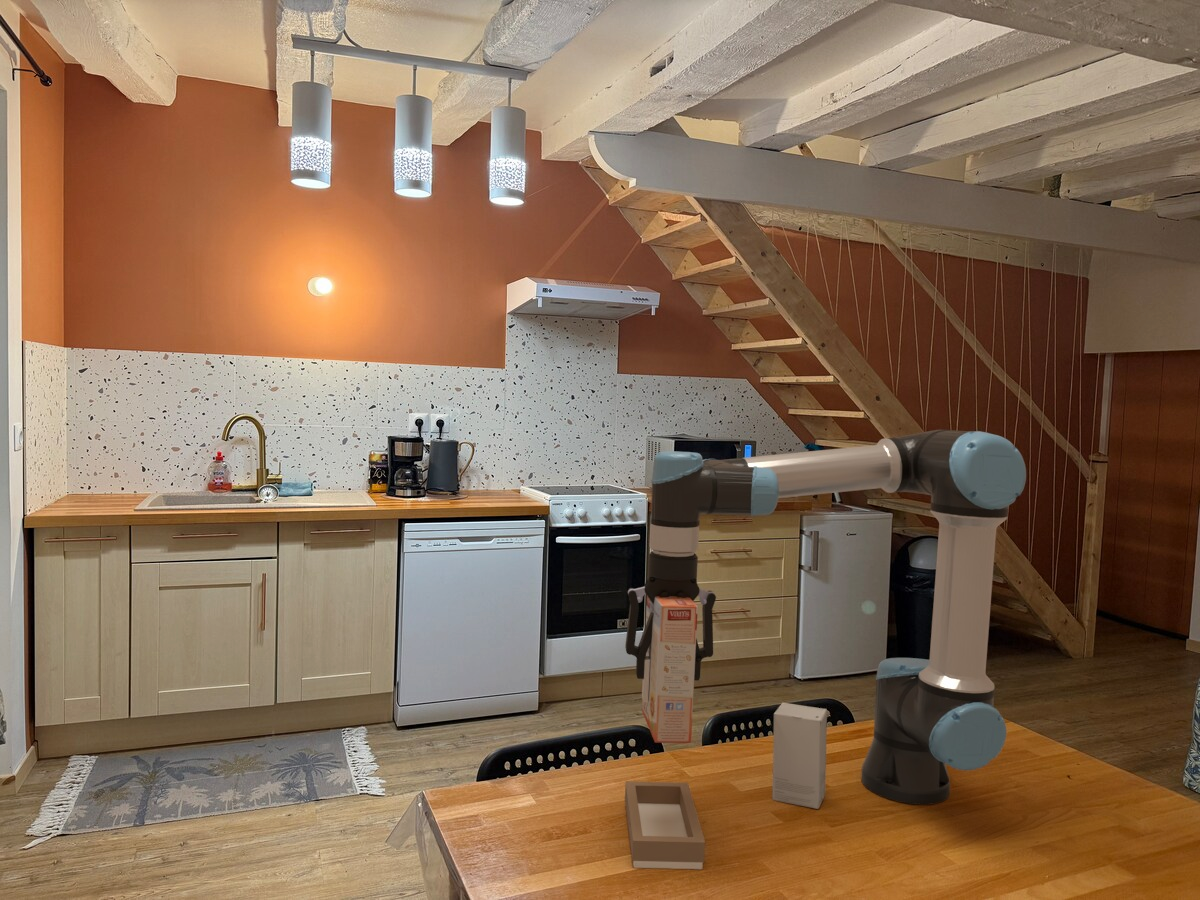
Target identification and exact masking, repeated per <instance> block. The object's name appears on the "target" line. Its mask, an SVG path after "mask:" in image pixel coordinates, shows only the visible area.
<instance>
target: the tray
mask: <svg viewBox="0 0 1200 900" xmlns="http://www.w3.org/2000/svg"><path fill="white" fill-rule="evenodd" d="M624 788H625V789H624V791H625V792H624V802H625V803H624V804H625V811H626V819H627V827H628V828H627V829H628V834H629V835H628V837H629V842H630V843H629V844H630V852H631V860H632V863H633V868H634V869H635V868H636V869H638V868H639V869H675V870H677V869H678V870H679V869H682V870H691V869H692V870H703V863H705V856H706V841H705V837H704V833H703V830H702V826H701V824H700V820H699V817H698V813H697V809H696V805H695V802H694V799H693V796H692V793H691V788H690V785H689V783H688V782H670V781H669V782H667V781H666V782H665V781H635V780H634V781H630V780H629V781H627V780H626V781H625V787H624Z"/></svg>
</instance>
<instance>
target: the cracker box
mask: <svg viewBox="0 0 1200 900" xmlns="http://www.w3.org/2000/svg"><path fill="white" fill-rule="evenodd" d="M645 611H646V612H645V625H646V624H647V621H648V618H649V616H650V613H651V612H653V613H654V616H653V626H652V640H651V643H650V645H649V648H648V651H647V653H646V655H649V659H650V670H649V692H648V702H643V699H642V698H641V712H642V715H643V717H644V719H645V722H646V725H647V726H648V727H647V728H648V729H649V731H650V734H651V737H652V738H653V739H652V740H653V741H654V743H657V744H658V743H660V744H663V743H664V744H665V743H669V744H691V743H692V734H693V731H692V730H693V729H692V728H693V714H694V713H693V712H694V711H693V709H694V708H693V707H694V690H695V689H694V688H695V680H694V672H695V650H696V638H697V633H698V632H697V631H698V630H697V628H698V613H699V612H698V611H699V607H698V605H697V604H696V603H695V601H692V600H691V599H690V598H688V597H686V598H678V597H677V596H668V597H661V598H660V597H659V596H657V597H655V600H654V604H653V603H652V602H651V600H650V599H649V597H648V596H647V595H646V610H645Z"/></svg>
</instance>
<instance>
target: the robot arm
mask: <svg viewBox="0 0 1200 900" xmlns="http://www.w3.org/2000/svg"><path fill="white" fill-rule="evenodd" d="M650 481H651V507H650V508H651V510H650V527H649V530H650V531H649V548H650V550H652V551H650V552H649V554H648V564H647V565H648V568H647V569H648V571H647V579H646V582H645V584H644V585H643V586H641V587H637V588H633V587H630V588H628V590H627V595H628V598H629V609H628V610H629V611H628V612H629V613H628V622H627V628H626V629H627V630H626V636H625V637H626V638H625V652H626V654H627V655H632V656H633V657H635V658H636V660H635V661H636V665H635V666H636V667H635V675H636V678H637V679H640V680H641V679H642V683H641V684H642V686H641V700H642V699H643V702H648V692H649V670H650V659H649V655H646V653H647V651H648V648H649V645H650V643H651V640H652V626H653V616H654V613H653V612H651V613H650V616H649V618H648V621H647V624H646V623H645V626H644V630H643V632H642V636H641V638H640V641H639V642H638V646H637V645H636V635H637V629H638V622H639V621H638V618H639V612H640V605H639V603H642V602H643V599H644V596H645V595H646V597H647V596H648V597H649V599H650V600H651V602H652V603H653V604H654V600H655V597H657V596H659V597H660V598H661V597H668V596H677V597H678V598H686V597H688V598H690V599H691V600H692V601H693V602H695V600H696V599H697V597H699V602H700V603H701V605H702V607H701V608H702V609H701V610H702V611H701V612H702V647H699V643H698V639H697V637H696V650H695V672H694V681H698V682H699V681H700V678H701V667H702V666H701V664H702V660H703V659H705V658H711V657H712V656H713V655H714V630H713V629H714V628H713V625H714V624H713V623H714V621H713V620H714V619H713V618H714V617H713V608H714V605H715V603H716V600H717V596H716V594H715V593H714V591H712V590H705V589H702V588H700V587H699V586H700V585H699V584H698V563H699V562H698V561H699V560H698V559H699V557H698V555H697V554H696V552H698V550H699V542H700V541H699V536H700V519H701V515H731V516H732V515H734V516H750V517H755V516H769V515H771V514H772V513H773V512H774V511H775V509H776V508H777V506H778V501H779V499H783V498H793V497H804V496H814V495H822V494H823V495H825V494H832V493H834V494H835V493H843V492H854V491H865V490H872V489H873V490H875V489H881V490H882V491H884V492H886V493H888V494H890V493H903V492H904V493H915V494H923V495H927V496H930V497H931V498H930V513H931V514H932V515H933V516H934V518H935V519H936V520H937V521H938V523H939V525H938V539H937V540H938V541H937V555H936V566H935V579H934V580H935V581H934V594H933V595H934V596H933V604H932V605H933V608H932V618H931V619H932V620H931V632H930V633H931V635H930V636H931V637H930V646H929V647H930V650H929V659H925V658H916V657H915V658H913V657H890V658H885V659H883V660H881V661H880V662H879V664H878V666H877V671H876V676H875V681H876V684H875V685H876V686H875V704H874V721H873V723H874V725H873V727H874V728H873V739H872V742H871V745H870V746H869V750H868V752H867V754H866V757H865V758H864V760H863V764H862V766H861V776H860V777H861V784H862V785H864V786H865V788H867V789H868V790H869V791H871V792H872V793H874V794H876V795H878V796H880V797H883V798H886V799H888V800H891V801H897V802H900V803H905V804H913V805H933V804H938V803H941V802H945V801H946V800H947V799H948V798H949V797H950V794H951V793H950V792H951V781H950V779H951V778H950V776H949V772H948V769H947V766H949V767H950V768H953V769H954V770H955V769H956V770H958V771H973V770H974V771H975V770H977V769H981V768H983V767H985V766H986V765H988V764H989V763H990V762H991V760H993V759H995V758H997V757H998V755H999V754H1000V753H1001V751H1002V749H1003V747H1004V746H1005V744H1006V743H1005V742H1006V738H1007V726H1006V725H1007V724H1006V722H1005V719H1004V718H1003V716H1002V715H1001V713H1000V711H999V710H998V709H997V708H996V707H994V701H995V700H994V699H995V688H996V686H995V683H994V682H993V681H992V680H991V679H990V678H989V677H988V675H987V673H986V669H987V659H988V658H987V657H988V656H987V655H988V643H989V631H990V630H989V629H990V618H991V617H990V616H991V605H992V604H991V602H992V590H993V576H994V563H995V553H996V552H995V550H996V537H997V528H998V526H1000V525H1001V524H1002V523H1003V522H1005V521H1007V519H1008V515H1009V514H1008V513H1009V506H1011V504H1013V503H1015V501H1016V500H1017V499H1016V498H1017V497H1019V496H1021V495H1022V492H1023V491H1024V489H1025V484H1026V481H1027V467H1026V464H1025V461H1024V457H1023V455H1022V454H1021V452H1020V451H1019V449H1018V448H1017V447H1016V446H1015V445H1014V444H1013V443H1012V441H1010V440H1009V439H1007V438H1005V437H1004V436H1000V435H997V434H993V433H990V432H986V431H980V430H977V431H968V430H967V431H965V430H951V429H935V430H929V431H924V432H923V431H922V432H919V433H913V434H908V435H902V436H896V437H885V438H881V439H879V441H878V442H877V443H876V444H874V445H864V446H863V445H861V446H853V447H842V448H841V447H840V448H833V449H831V448H830V449H822V450H819V449H818V450H812V451H810V450H809V451H801V452H800V451H799V452H789V453H780V454H770V455H760V456H759V455H758V456H749V457H742V458H729V459H727V458H726V459H716V458H708V459H707V458H705V459H703V456H702V455H701V453H700V452H699V453H698V452H691V451H677V450H676V451H675V450H673V451H672V450H671V451H668V450H667V451H660V452H657V454H655V456H654V459H653V468H652V476H651V480H650Z"/></svg>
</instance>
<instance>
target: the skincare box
mask: <svg viewBox="0 0 1200 900" xmlns="http://www.w3.org/2000/svg"><path fill="white" fill-rule="evenodd" d="M827 719H828V710H827V708H822V707H820V708H819V707H814V706H809V705H808V706H807V705H801V704H794V703H789V702H781V704H780V705H779V706H778V707H777V709H776V710H775V712H774V713H773V737H772V738H773V742H772V743H773V744H772V794H771V796H772V797H771V799H772V801H777V802H781V803H785V804H791V805H796V806H800V807H807V808H811V809H816V810H818V809H819V808H820V806H821V804H822V803H823V800H824V798H825V795H826V776H827V775H826V773H827V772H826V769H827V730H828V729H827V728H828V727H827V726H828V722H827V721H828V720H827Z"/></svg>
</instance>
